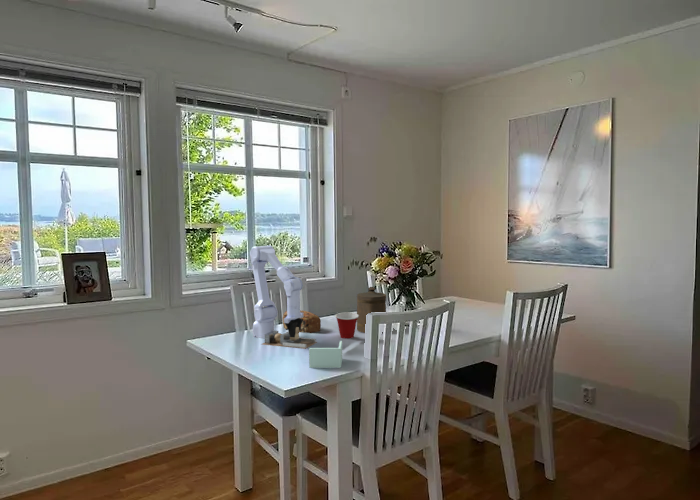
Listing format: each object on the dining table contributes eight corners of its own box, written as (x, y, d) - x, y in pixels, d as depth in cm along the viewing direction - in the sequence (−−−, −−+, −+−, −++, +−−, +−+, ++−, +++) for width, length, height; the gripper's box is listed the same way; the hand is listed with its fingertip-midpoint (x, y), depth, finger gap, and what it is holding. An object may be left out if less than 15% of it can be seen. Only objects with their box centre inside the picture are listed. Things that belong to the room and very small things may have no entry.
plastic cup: (338, 343, 224) (338, 317, 223) (333, 338, 234) (332, 313, 233) (361, 342, 227) (361, 316, 226) (355, 336, 237) (354, 311, 236)
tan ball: (272, 342, 221) (272, 333, 220) (277, 340, 224) (277, 331, 224) (280, 343, 219) (280, 334, 219) (285, 341, 223) (284, 332, 223)
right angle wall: (342, 358, 201) (342, 340, 200) (340, 368, 189) (340, 348, 188) (312, 358, 201) (312, 340, 201) (309, 368, 189) (309, 348, 189)
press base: (260, 347, 219) (260, 335, 218) (274, 341, 230) (274, 329, 229) (305, 352, 210) (305, 339, 210) (317, 345, 222) (317, 333, 221)
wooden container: (391, 328, 252) (391, 285, 251) (377, 334, 240) (377, 289, 238) (366, 325, 260) (365, 284, 259) (351, 331, 248) (350, 287, 246)
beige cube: (280, 344, 218) (280, 328, 217) (288, 340, 224) (287, 325, 224) (293, 345, 215) (293, 329, 215) (301, 341, 222) (300, 326, 221)
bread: (282, 329, 254) (281, 310, 253) (298, 325, 261) (298, 307, 261) (305, 335, 241) (305, 315, 240) (322, 331, 248) (321, 311, 248)
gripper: (294, 309, 210) (294, 340, 211) (309, 303, 223) (309, 333, 224) (279, 308, 212) (279, 339, 213) (295, 302, 226) (295, 331, 227)
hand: (294, 336), depth 219 cm, fingers closed on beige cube, 3 cm apart
